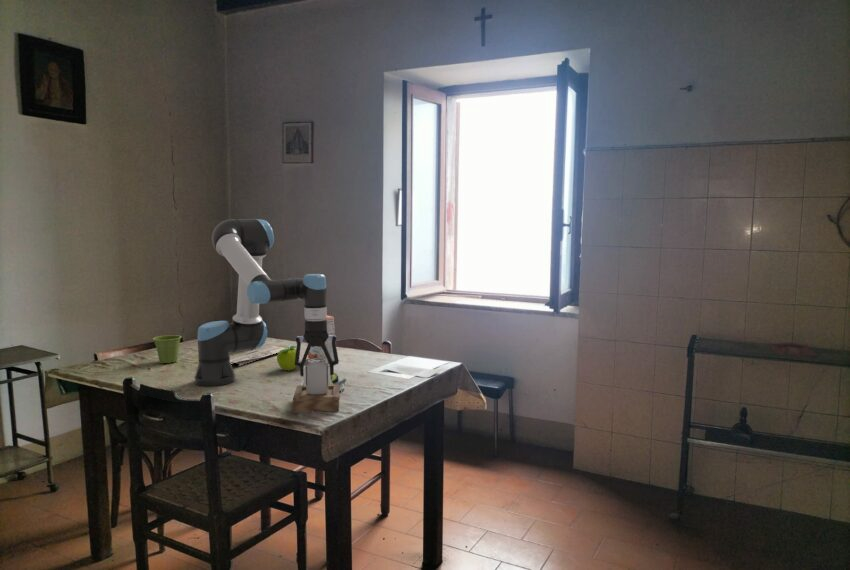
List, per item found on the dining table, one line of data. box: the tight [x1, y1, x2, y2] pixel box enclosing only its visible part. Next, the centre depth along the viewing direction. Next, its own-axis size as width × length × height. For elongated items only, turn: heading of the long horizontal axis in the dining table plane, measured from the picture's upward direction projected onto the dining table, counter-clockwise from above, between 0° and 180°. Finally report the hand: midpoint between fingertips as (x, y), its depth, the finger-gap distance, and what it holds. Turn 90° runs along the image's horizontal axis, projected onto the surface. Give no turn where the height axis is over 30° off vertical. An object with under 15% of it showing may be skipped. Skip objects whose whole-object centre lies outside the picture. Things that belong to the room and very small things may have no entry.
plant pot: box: [152, 334, 182, 364], centre depth 268 cm, size 12×12×11 cm
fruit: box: [276, 345, 297, 371], centre depth 255 cm, size 9×9×10 cm
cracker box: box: [307, 314, 336, 364], centre depth 271 cm, size 14×6×21 cm, turn 44°
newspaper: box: [230, 345, 286, 368], centre depth 276 cm, size 35×12×4 cm, turn 158°
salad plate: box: [299, 372, 347, 392], centre depth 227 cm, size 19×18×5 cm
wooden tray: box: [292, 384, 341, 414], centre depth 208 cm, size 15×15×5 cm
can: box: [305, 358, 329, 396], centre depth 207 cm, size 8×8×12 cm
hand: (317, 384), depth 207 cm, fingers closed on can, 7 cm apart
